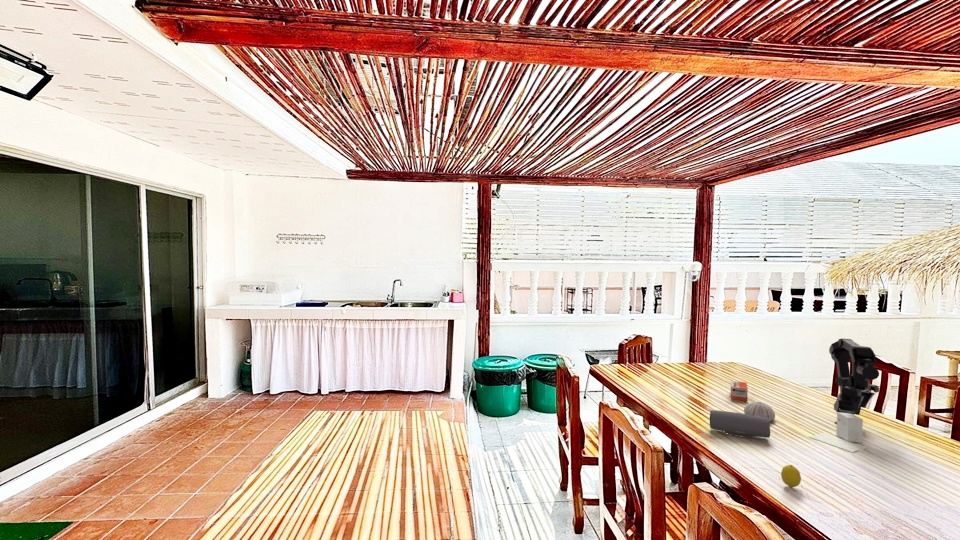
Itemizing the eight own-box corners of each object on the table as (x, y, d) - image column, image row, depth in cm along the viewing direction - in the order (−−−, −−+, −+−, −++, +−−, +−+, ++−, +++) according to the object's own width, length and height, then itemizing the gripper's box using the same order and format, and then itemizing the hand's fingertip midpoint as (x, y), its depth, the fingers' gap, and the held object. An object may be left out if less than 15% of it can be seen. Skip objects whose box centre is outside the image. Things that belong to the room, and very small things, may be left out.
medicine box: (730, 393, 252) (730, 380, 251) (746, 395, 248) (746, 382, 247) (730, 400, 239) (731, 386, 238) (747, 402, 235) (748, 388, 234)
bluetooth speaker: (766, 435, 190) (766, 414, 190) (770, 443, 181) (771, 421, 181) (709, 426, 200) (709, 406, 199) (710, 434, 191) (711, 412, 191)
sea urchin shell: (771, 425, 202) (771, 409, 202) (739, 417, 212) (740, 401, 212) (778, 418, 211) (779, 403, 211) (748, 411, 221) (748, 396, 221)
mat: (823, 433, 193) (823, 432, 193) (866, 448, 178) (866, 447, 178) (809, 437, 189) (809, 436, 189) (852, 452, 174) (852, 451, 174)
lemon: (776, 483, 149) (777, 461, 149) (791, 483, 149) (792, 460, 149) (789, 492, 143) (790, 469, 143) (804, 491, 144) (805, 468, 143)
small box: (862, 443, 183) (863, 419, 182) (847, 441, 184) (848, 417, 184) (849, 436, 190) (851, 413, 190) (835, 434, 192) (837, 411, 191)
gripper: (850, 367, 201) (849, 400, 201) (827, 371, 193) (826, 405, 194) (880, 373, 190) (879, 407, 191) (857, 378, 183) (856, 413, 183)
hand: (859, 408), depth 190 cm, fingers open, 5 cm apart
